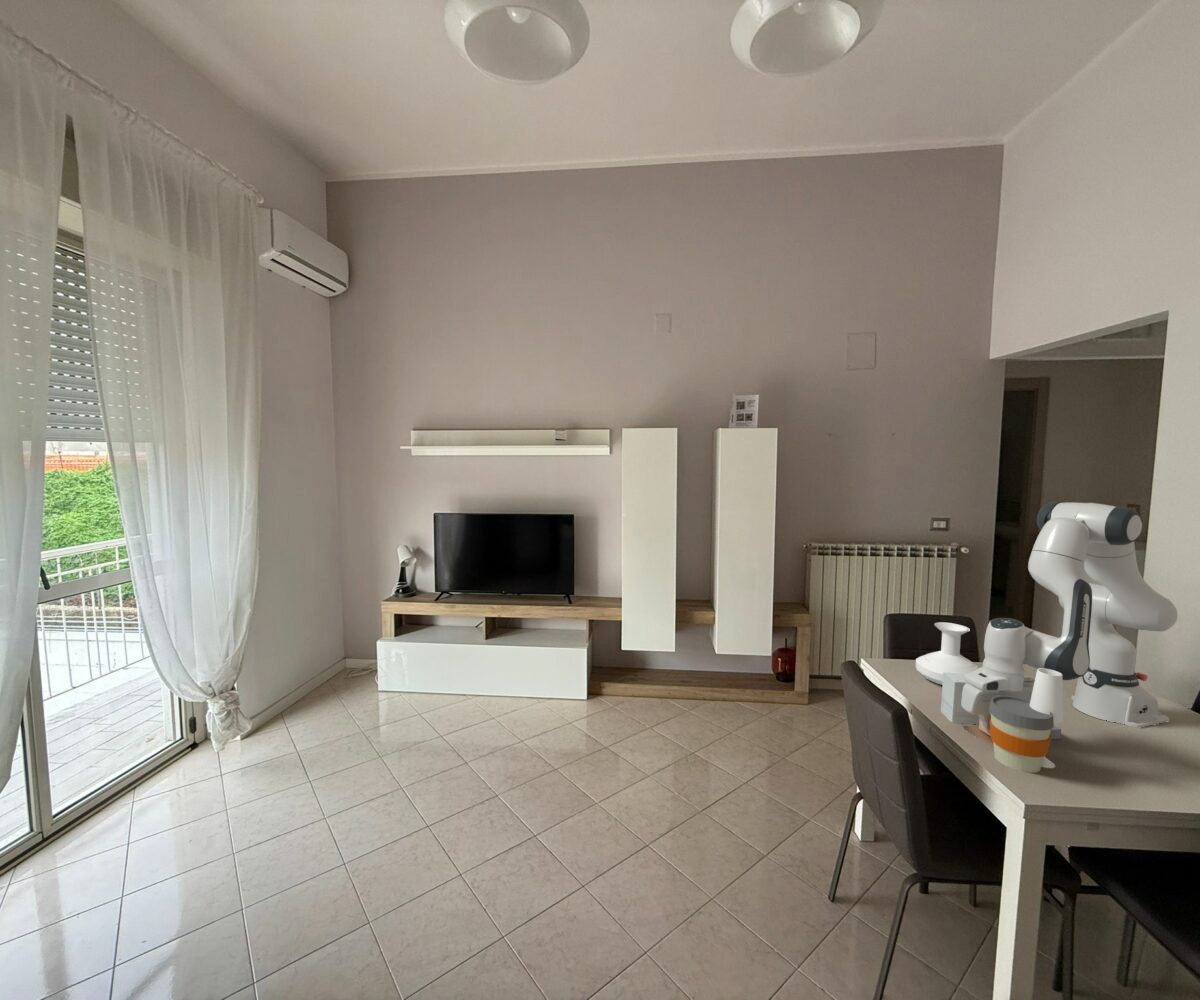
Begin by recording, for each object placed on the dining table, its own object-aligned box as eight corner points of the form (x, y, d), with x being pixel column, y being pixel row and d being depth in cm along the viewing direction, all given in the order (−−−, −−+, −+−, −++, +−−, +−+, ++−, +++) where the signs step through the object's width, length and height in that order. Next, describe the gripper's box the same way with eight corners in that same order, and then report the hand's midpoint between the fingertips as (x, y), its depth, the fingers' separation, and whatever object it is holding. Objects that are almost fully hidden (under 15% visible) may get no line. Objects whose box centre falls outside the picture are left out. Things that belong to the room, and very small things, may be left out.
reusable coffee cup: (1061, 783, 121) (1065, 723, 119) (998, 773, 125) (1001, 714, 123) (1034, 754, 133) (1038, 699, 131) (977, 746, 136) (981, 692, 135)
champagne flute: (1054, 761, 130) (1063, 670, 128) (1062, 775, 124) (1071, 680, 122) (1021, 753, 133) (1029, 664, 131) (1027, 766, 127) (1035, 673, 125)
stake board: (995, 728, 146) (995, 724, 146) (1031, 750, 135) (1031, 745, 135) (962, 729, 145) (963, 725, 145) (996, 751, 134) (996, 747, 134)
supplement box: (979, 726, 147) (983, 684, 146) (951, 723, 148) (954, 681, 147) (967, 714, 154) (969, 673, 153) (939, 711, 155) (942, 671, 155)
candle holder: (986, 680, 179) (990, 626, 177) (981, 699, 164) (985, 641, 162) (919, 664, 192) (923, 614, 190) (909, 681, 176) (913, 627, 175)
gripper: (1026, 672, 142) (1022, 720, 143) (958, 674, 140) (955, 723, 141) (1048, 682, 136) (1044, 731, 137) (977, 684, 134) (974, 735, 135)
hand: (998, 727), depth 139 cm, fingers closed on collar, 6 cm apart
